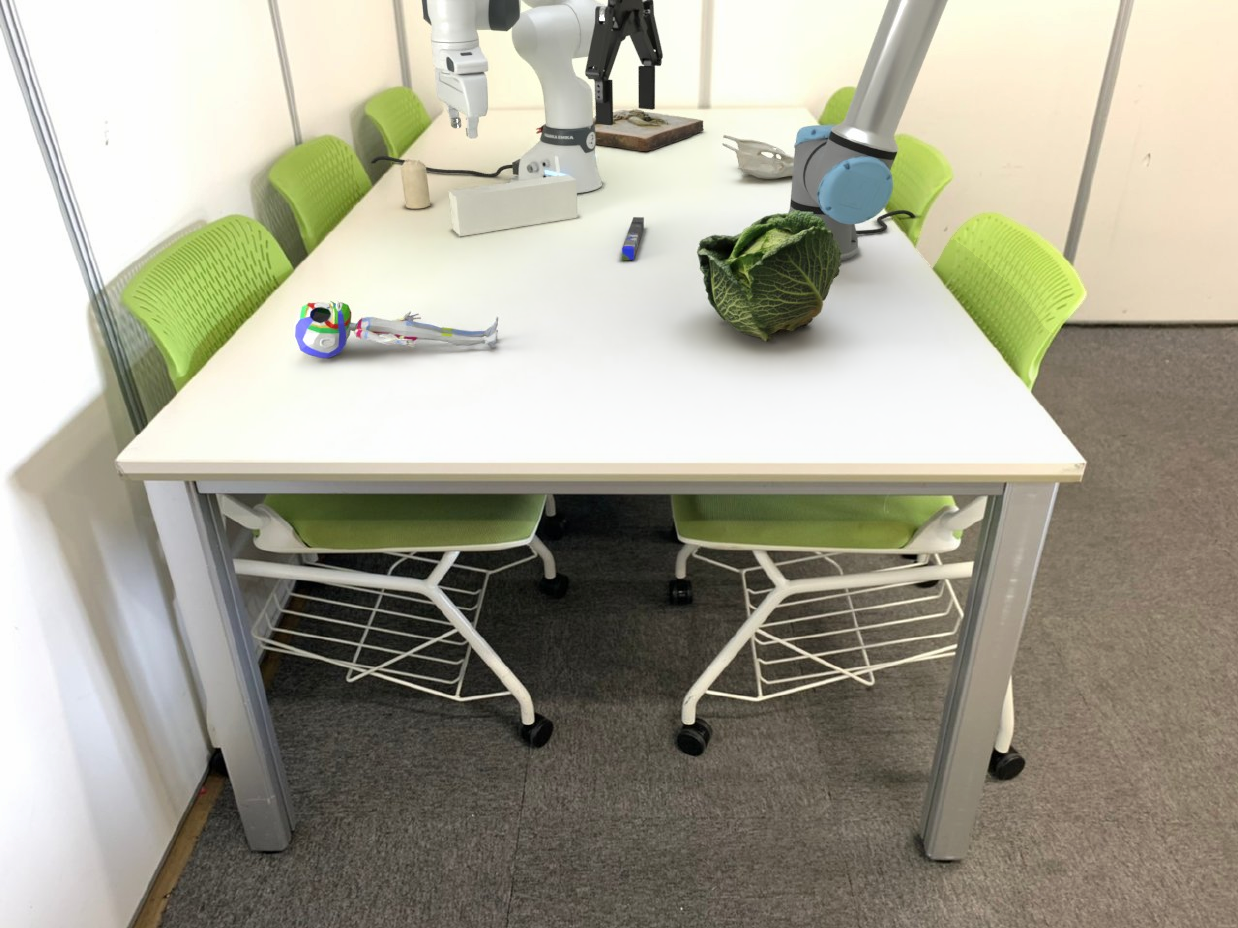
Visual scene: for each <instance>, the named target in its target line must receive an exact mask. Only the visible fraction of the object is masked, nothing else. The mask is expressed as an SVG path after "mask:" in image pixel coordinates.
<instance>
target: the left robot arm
mask: <svg viewBox="0 0 1238 928" xmlns="http://www.w3.org/2000/svg"><path fill="white" fill-rule="evenodd" d="M522 2H523V3H524V5H526V6H528V7H530V9H527V10H524V11H522V12H521V10H522ZM421 6H422V7H421V8H422V16H423V17H422V19H423V20H424V21H425V22H426V23H427V24H429V25H430V27H431V34H430V43H431V52H432V53H431V54H432V59H433V66H434V75H435V76H434V78H435V80H434V81H435V91H436V96H437V99H438V100H439V101H441V102H443V103H444V104H445V107H446V111H447V114H448V117H449V122H450V123H449V124H450V127H452V128H453V129H460V128H462V118H461V117H460V113H462V115H465V120H466V127H465V134H466V137H467V138H469V139H477V138H478V136H479V134H478V127H479V122H480V118H482V117H486V116H487V114H488V109H489V93H488V92H489V90H488V89H489V88H488V80H487V75H486V73H487V72H488V71H489V61H488V59H487V57H486V56H485V54H484V53H483V52H482V48H481V46H480V38H479V32H478V31H493V32H495V31H496V32H508V31H510V30H511V41H512V45H513V48H514V50H515V51H516V53H517V55H518V56H519V57H520V58H521V59H522V60H524V61H525V62H526V63H528V65H529V66H530V67H531V68H532V69H533V71H534V72H535V74H536V76H537V78H538V81H539V84H540V86H541V91H542V97H543V106H544V118H545V119H544V120H545V121H544V122H545V123H544V124H543V125H541V126H540V127H537V128H535V130H536V132H535V133H536V134H540V138H539V141H538V142H536V143H535V144H534V145H533V146H532V147H530V149H529V150H527V151H526V152H525V153H524V154H523V155H522V156H521V157H520V158H519V159H517V160H515V161H512V162H511V163H512V164H505V165H502V166H500V167H498V169H497V170H496V171H495V172H493V173H485V172H480V171H476V170H470V169H441V168H433V167H428V166H426V172H430V173H436V174H451V175H452V174H454V175H455V174H457V175H458V174H459V175H473V176H478V177H483V178H495V177H498V176H500V174H501V173H502V172H503V171H505V170H510V169H512V175H514V176H513V177H512V178H511V179H510V180H509V182H516V181H523V180H530V179H537V178H545V177H552V176H559V175H566V174H567V175H569V176H571V177H573V178H574V179H576V184H577V194H582V193H588V192H592V191H595V190H598V189H600V188H601V187H602V186H603V183H602V180H601V178H600V177H601V176H600V173H599V168H598V163H597V157H598V155H597V154H596V145H597V144H596V133H595V124H594V123H593V118H594V102H593V101H594V100H593V99H594V98H593V90H592V88H591V86H590V84H589V83H588V82H587V81H586V80H584V79H583V78H581V77H579V76H577V74H576V72H575V70H574V66H573V65H574V64H573V59H582V58H588V55H589V50H590V45H591V40H592V35H593V30H594V25H595V9H596V7H597V6H605V7H607V5H606V4H604V3H602V2H599V1H597V0H421ZM603 24H604V23H603ZM612 31H613V30H612ZM459 112H460V113H459ZM382 160H383V161H390V162H394V163H398V164H403V163H404V162H405V161H406V160H407V159H401V158H396V157H392V156H386V155H380V156H379V155H378V156H376V157H375V158H373V159H372V160H371V162H370V164H376V163H377V162H379V161H382Z"/></svg>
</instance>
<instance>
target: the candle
mask: <svg viewBox="0 0 1238 928" xmlns="http://www.w3.org/2000/svg"><path fill="white" fill-rule="evenodd" d="M405 160H406V161H405V162H404V163H402V164H401V166H400V167H399V168H400V175H401V180H402V187H403V188H402V190H403V195H404V197H403V198H404V204H405V207H406V208H408V209H417V210H418V209H424V208H427V207H430V206H431V196H430V189H429V182H428V174H427V172H428V171H426V167H427V166H426V164H425V163H423V162H422V161H420V160H419V159H418V160H415V159H409V158H407V159H405Z"/></svg>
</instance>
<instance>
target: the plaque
mask: <svg viewBox="0 0 1238 928" xmlns="http://www.w3.org/2000/svg"><path fill="white" fill-rule="evenodd" d="M593 123H594V124H595V133H596V144H595V145H597V146H598V145H599V146H607V147H612V148H620V149H625V150H632V151H640V152H648V151H654V150H656V149H659V148H662V147H663V146H664V147H665V146H667V145H670V144H672V143H676V142H680V141H682V140H684V139H687V138H691V137H692V136H694V135H696V134H698V133H700V132H704V130H705V129H704V120H702V119H698V118H693V117H685V116H679V115H669V114H663V113H659V112H650V111H644V110H643V109H637V108H636V109H635V108H634V109H630V110H629V109H620V110H616V111H613V125H602V124H596V115H594V117H593Z"/></svg>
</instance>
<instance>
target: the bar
mask: <svg viewBox="0 0 1238 928" xmlns="http://www.w3.org/2000/svg"><path fill="white" fill-rule="evenodd" d="M448 198H449V206H450V214H451V223H452V231H453V232H454V233H456V234H457V235H458V236H459V237H465V236H472V235H477V234H484V233H491V232H497V231H503V230H509V229H514V228H515V229H517V228H523V227H528V226H534V225H540V224H546V223H552V222H558V221H567V220H572V219H578V217H579V211H578V193H577V184H576V179H574V178H573V177H571V176H569V175H567V174H566V175H559V176H552V177H545V178H537V179H530V180H523V181H516V182H510V181H509V182H503V183H496V184H495V183H494V184H488V185H482V186H481V185H480V186H475V187H468V188H460V189H453V190H448Z"/></svg>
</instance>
